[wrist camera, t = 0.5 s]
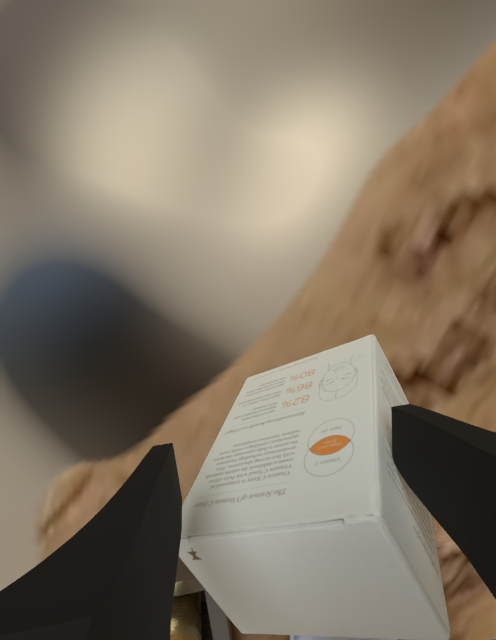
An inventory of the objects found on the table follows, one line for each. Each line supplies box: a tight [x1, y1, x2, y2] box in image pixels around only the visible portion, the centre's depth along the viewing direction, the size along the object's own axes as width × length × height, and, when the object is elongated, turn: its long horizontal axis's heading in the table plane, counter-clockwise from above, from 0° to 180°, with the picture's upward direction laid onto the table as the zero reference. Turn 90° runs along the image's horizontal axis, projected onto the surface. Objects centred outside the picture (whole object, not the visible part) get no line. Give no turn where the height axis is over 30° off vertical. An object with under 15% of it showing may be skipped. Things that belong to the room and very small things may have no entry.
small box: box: [179, 335, 450, 640], centre depth 16 cm, size 8×6×10 cm
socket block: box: [174, 557, 233, 640], centre depth 24 cm, size 11×8×3 cm
